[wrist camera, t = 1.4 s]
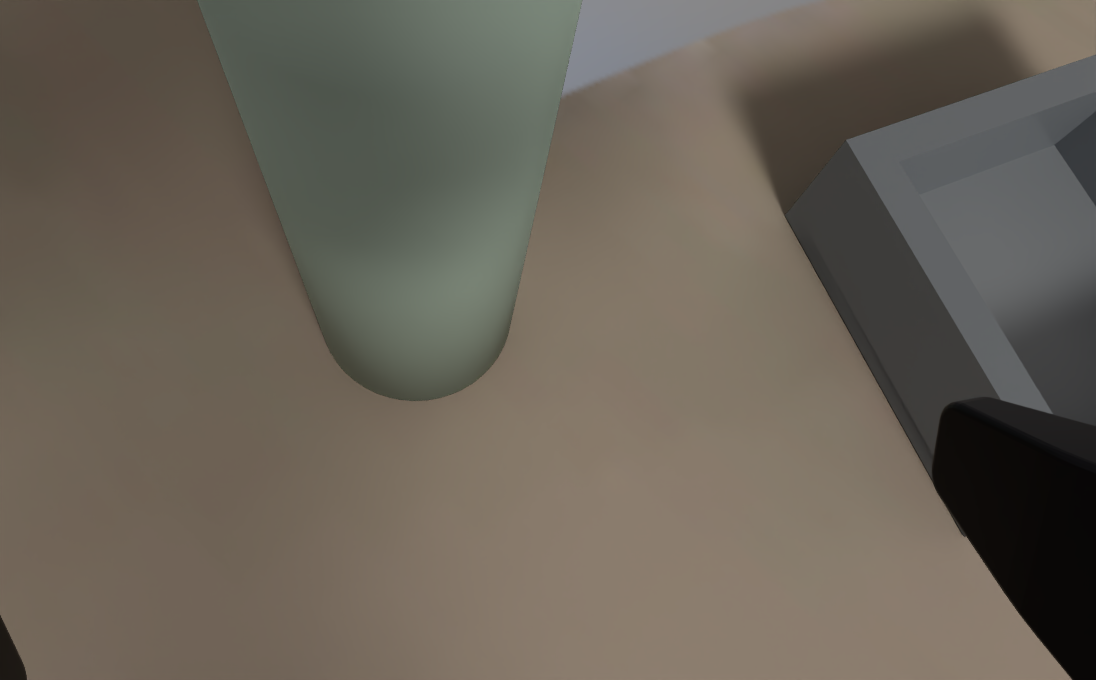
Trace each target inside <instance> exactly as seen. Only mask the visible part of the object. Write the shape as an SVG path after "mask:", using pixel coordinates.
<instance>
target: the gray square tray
mask: <svg viewBox="0 0 1096 680" xmlns="http://www.w3.org/2000/svg"><path fill="white" fill-rule="evenodd" d="M785 216H786V218H787V220H788V222H789V223H790V225H791V227H792V229H793V231H794V232H795V234H796V236H797V238H798V240H799V241H800V243H801V245H802V247H803V249H804V250H805V252H806V254H807V256H808V258H809V259H810V261H811V263H812V265H813V267H814V268H815V270H816V272H817V274H818V276H819V277H820V279H821V281H822V283H823V285H824V286H825V288H826V290H827V292H828V294H829V295H830V297H831V299H832V301H833V303H834V304H835V306H836V308H837V310H838V312H839V313H840V315H841V317H842V319H843V320H844V322H845V324H846V326H847V328H848V329H849V331H850V333H851V335H852V337H853V338H854V340H855V342H856V344H857V346H858V347H859V349H860V351H861V353H862V355H863V356H864V358H865V360H866V362H867V364H868V365H869V367H870V369H871V371H872V373H873V374H874V376H875V378H876V380H877V382H878V383H879V385H880V387H881V389H882V391H883V392H884V394H885V396H886V398H887V400H888V401H889V403H890V405H891V407H892V409H893V410H894V412H895V414H896V416H897V417H898V419H899V421H900V423H901V425H902V426H903V428H904V430H905V432H906V434H907V435H908V437H909V439H910V441H911V443H912V444H913V446H914V448H915V450H916V452H917V453H918V455H919V457H920V459H921V461H922V462H923V464H924V466H925V468H926V470H927V471H928V473H929V475H930V477H931V479H932V472H931V469H932V461H933V455H934V449H935V443H936V437H937V431H938V425H939V418H940V415H941V412H942V410H943V409H944V407H945V406H946V405H948V404H949V403H951V402H955V401H960V400H964V399H969V398H974V397H980V396H987V397H992V398H995V399H999V400H1003V401H1006V402H1010V403H1014V404H1017V405H1021V406H1025V407H1028V408H1032V409H1036V410H1039V411H1043V412H1047V413H1050V414H1054V415H1058V416H1061V417H1065V418H1068V419H1072V420H1076V421H1079V422H1083V423H1087V424H1090V425H1094V426H1096V55H1093V56H1090V57H1087V58H1085V59H1082V60H1079V61H1076V62H1073V63H1070V64H1067V65H1064V66H1061V67H1058V68H1055V69H1052V70H1049V71H1047V72H1044V73H1041V74H1038V75H1035V76H1032V77H1029V78H1026V79H1023V80H1020V81H1017V82H1014V83H1011V84H1008V85H1006V86H1003V87H1000V88H997V89H994V90H991V91H988V92H985V93H982V94H979V95H976V96H973V97H970V98H967V99H965V100H962V101H959V102H956V103H953V104H950V105H947V106H944V107H941V108H938V109H935V110H932V111H929V112H926V113H924V114H921V115H918V116H915V117H912V118H909V119H906V120H903V121H900V122H897V123H894V124H891V125H888V126H885V127H883V128H880V129H877V130H874V131H871V132H868V133H865V134H862V135H859V136H856V137H853V138H850V139H847V140H846V141H845V142H844V143H843V144H842V146H841V147H840V148H839V149H838V151H837V152H836V153H835V154H834V155H833V157H832V158H831V159H830V160H829V162H828V163H827V164H826V165H825V167H824V168H823V169H822V170H821V172H820V173H819V174H818V175H817V177H816V178H815V179H814V180H813V181H812V183H811V184H810V185H809V186H808V188H807V189H806V190H805V191H804V193H803V194H802V195H801V196H800V198H799V199H798V200H797V201H796V202H795V204H794V205H793V206H792V207H791V209H790V210H789V211H788V212H787V214H786V215H785ZM932 480H933V479H932ZM953 518H954V517H953ZM954 520H955V519H954ZM955 522H956V520H955ZM956 523H957V522H956ZM957 525H958V523H957ZM958 527H959V529H960V531H961V532H962V534H963V536H964V537H965V536H966V535H965V533H964V532H963V530H962V529H961V528H960V526H959V525H958Z"/></svg>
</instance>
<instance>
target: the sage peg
mask: <svg viewBox="0 0 1096 680" xmlns="http://www.w3.org/2000/svg"><path fill="white" fill-rule="evenodd" d="M197 1H198V4H199V6H200V9H201V12H202V14H203V17H204V20H205V22H206V25H207V28H208V30H209V33H210V36H211V38H212V41H213V44H214V46H215V49H216V52H217V54H218V57H219V60H220V62H221V65H222V68H223V70H224V73H225V76H226V78H227V81H228V84H229V86H230V89H231V92H232V94H233V97H234V100H235V102H236V105H237V107H238V110H239V113H240V115H241V118H242V121H243V123H244V126H245V129H246V131H247V134H248V137H249V139H250V142H251V145H252V147H253V150H254V153H255V155H256V158H257V161H258V163H259V166H260V169H261V171H262V174H263V177H264V179H265V182H266V185H267V187H268V190H269V193H270V195H271V198H272V201H273V203H274V206H275V209H276V211H277V214H278V217H279V219H280V222H281V225H282V227H283V230H284V233H285V235H286V238H287V240H288V243H289V246H290V248H291V251H292V254H293V256H294V259H295V262H296V264H297V267H298V270H299V272H300V275H301V278H302V280H303V283H304V286H305V288H306V291H307V294H308V296H309V299H310V302H311V304H312V307H313V310H314V312H315V315H316V318H317V320H318V323H319V326H320V328H321V331H322V334H323V336H324V339H325V342H326V344H327V346H328V348H329V350H330V353H331V354H332V356H333V357H334V359H335V360H336V362H337V363H338V365H339V366H340V367H341V368H342V369H343V370H344V372H345V373H346V374H348V375H349V376H350V377H351V378H352V379H353V380H354V381H356V382H357V383H359V384H360V385H362V386H363V387H365V388H367V389H369V390H371V391H373V392H375V393H377V394H380V395H383V396H386V397H389V398H394V399H399V400H409V401H422V400H431V399H437V398H441V397H445V396H448V395H451V394H453V393H456V392H458V391H460V390H462V389H464V388H466V387H467V386H469V385H471V384H472V383H474V382H475V381H476V380H478V379H479V378H480V377H481V376H482V375H484V374H485V372H486V371H487V370H488V369H489V368H490V367H491V366H492V365H493V363H494V362H495V361H496V359H497V358H498V356H499V355H500V353H501V351H502V349H503V347H504V345H505V342H506V339H507V336H508V333H509V328H510V324H511V319H512V315H513V310H514V306H515V301H516V297H517V292H518V288H519V283H520V279H521V274H522V270H523V265H524V261H525V256H526V252H527V247H528V243H529V238H530V234H531V229H532V225H533V220H534V216H535V211H536V207H537V202H538V198H539V193H540V189H541V184H542V180H543V175H544V171H545V166H546V162H547V157H548V153H549V148H550V144H551V139H552V135H553V130H554V126H555V121H556V117H557V112H558V108H559V103H560V99H561V94H562V90H563V85H564V81H565V76H566V71H567V67H568V63H569V58H570V54H571V49H572V45H573V40H574V36H575V31H576V27H577V22H578V18H579V13H580V9H581V4H582V0H197Z"/></svg>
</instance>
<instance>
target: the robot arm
mask: <svg viewBox="0 0 1096 680" xmlns="http://www.w3.org/2000/svg"><path fill="white" fill-rule="evenodd" d="M931 472H932V479H933V483H934V486H935V489H936V491H937V493H938V495H939V496H940V498H941V499H942V501H943V502H944V504H945V505H946V507H947V508H948V510H949V511H950V513H951V514H952V516H953V517H954V519H955V520H956V522H957V523H958V525H959V526H960V528H961V529H962V530H963V532H964V533H965V535H966V536H967V538H968V539H969V541H970V542H971V544H972V545H973V547H974V548H975V550H976V551H977V553H978V554H979V556H980V557H981V559H982V560H983V562H984V563H985V565H986V566H987V568H988V569H989V571H990V572H991V574H992V575H993V577H994V578H995V580H996V581H997V583H998V584H999V586H1000V587H1001V589H1002V590H1003V592H1004V593H1005V595H1006V596H1007V597H1008V599H1009V600H1010V602H1011V603H1012V604H1013V606H1014V607H1015V609H1016V610H1017V611H1018V613H1019V614H1020V616H1021V617H1022V618H1023V619H1024V621H1025V622H1026V623H1027V625H1028V626H1029V627H1030V628H1031V630H1032V631H1033V632H1034V633H1035V635H1036V636H1037V637H1038V638H1039V640H1040V641H1041V642H1042V643H1043V645H1044V646H1045V647H1046V648H1047V649H1048V651H1049V652H1050V653H1051V654H1052V656H1053V657H1054V658H1055V659H1056V660H1057V662H1058V663H1059V664H1060V665H1061V667H1062V668H1063V669H1064V670H1065V671H1066V673H1067V674H1068V675H1069V676H1070V678H1071V679H1072V680H1096V426H1094V425H1090V424H1087V423H1083V422H1079V421H1076V420H1072V419H1068V418H1065V417H1061V416H1058V415H1054V414H1050V413H1047V412H1043V411H1039V410H1036V409H1032V408H1028V407H1025V406H1021V405H1017V404H1014V403H1010V402H1006V401H1003V400H999V399H995V398H992V397H987V396H980V397H974V398H969V399H964V400H960V401H955V402H951V403H949V404H948V405H946V406H945V407H944V409H943V410H942V412H941V415H940V418H939V425H938V431H937V437H936V443H935V449H934V455H933V461H932V469H931ZM0 680H27V675H26V671H25V667H24V665H23V662H22V660H21V658H20V656H19V654H18V651H17V649H16V647H15V645H14V643H13V641H12V639H11V637H10V635H9V632H8V630H7V628H6V626H5V624H4V622H3V620H2V618H1V616H0Z"/></svg>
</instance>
